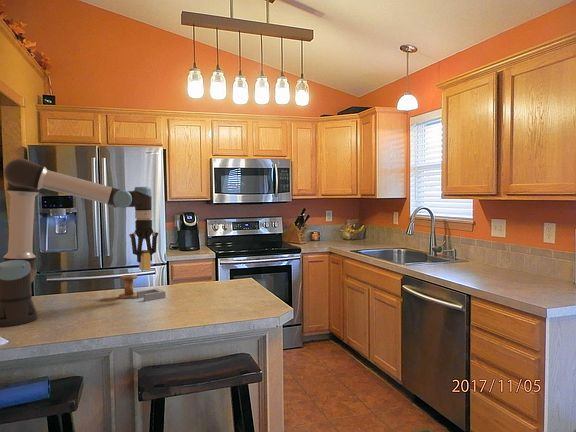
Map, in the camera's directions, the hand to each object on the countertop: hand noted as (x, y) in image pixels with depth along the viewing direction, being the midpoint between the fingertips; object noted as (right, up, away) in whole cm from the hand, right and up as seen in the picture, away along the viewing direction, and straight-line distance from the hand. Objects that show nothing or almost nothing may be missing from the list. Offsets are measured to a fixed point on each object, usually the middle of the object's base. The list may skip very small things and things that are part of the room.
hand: (144, 268), depth 198 cm
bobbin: (-9, -14, +5) cm, 18 cm away
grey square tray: (+2, -14, +2) cm, 15 cm away
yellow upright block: (0, 0, 0) cm, 0 cm away
